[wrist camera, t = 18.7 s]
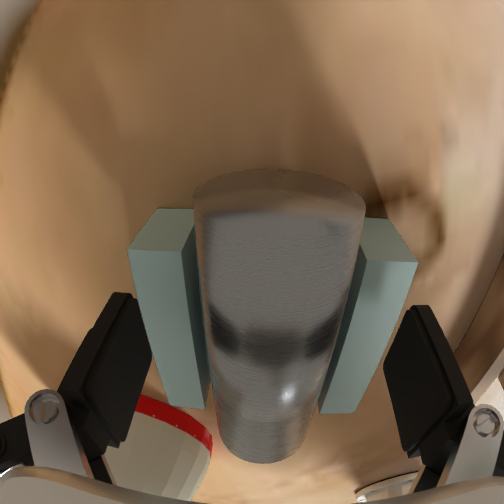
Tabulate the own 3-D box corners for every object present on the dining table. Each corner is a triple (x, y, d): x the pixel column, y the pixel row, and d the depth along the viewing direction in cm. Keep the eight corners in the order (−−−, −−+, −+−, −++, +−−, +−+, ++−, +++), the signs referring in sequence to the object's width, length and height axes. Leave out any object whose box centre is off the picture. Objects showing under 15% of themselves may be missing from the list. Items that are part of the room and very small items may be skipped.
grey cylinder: (303, 391, 18) (308, 463, 13) (223, 389, 18) (214, 460, 14) (344, 173, 11) (390, 239, 7) (208, 168, 11) (173, 231, 7)
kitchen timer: (51, 393, 24) (1, 515, 11) (139, 374, 20) (82, 569, 7) (142, 457, 30) (118, 562, 17) (240, 450, 26) (228, 589, 13)
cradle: (345, 366, 18) (354, 412, 15) (181, 359, 19) (169, 405, 16) (388, 219, 13) (418, 262, 10) (156, 208, 13) (126, 249, 10)
